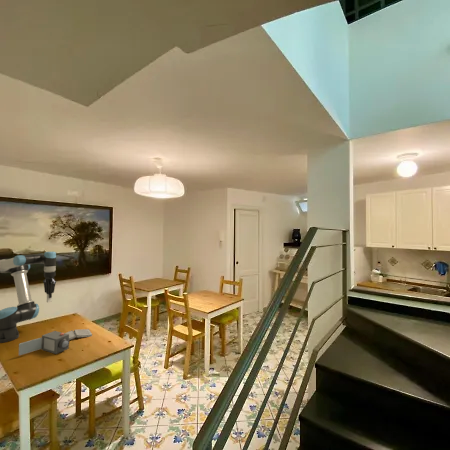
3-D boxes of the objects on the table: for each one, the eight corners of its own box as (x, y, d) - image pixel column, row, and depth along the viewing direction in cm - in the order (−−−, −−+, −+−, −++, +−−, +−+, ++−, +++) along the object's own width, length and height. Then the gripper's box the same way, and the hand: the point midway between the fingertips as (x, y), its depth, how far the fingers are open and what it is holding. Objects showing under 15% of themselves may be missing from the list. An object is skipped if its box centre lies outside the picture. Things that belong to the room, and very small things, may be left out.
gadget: (58, 344, 186) (58, 339, 186) (56, 338, 197) (56, 333, 197) (92, 336, 200) (92, 332, 200) (88, 330, 212) (88, 326, 212)
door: (42, 347, 176) (42, 336, 176) (42, 348, 175) (43, 337, 176) (18, 354, 166) (18, 343, 166) (19, 355, 165) (19, 344, 165)
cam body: (41, 349, 176) (41, 334, 176) (54, 344, 184) (55, 329, 185) (58, 355, 168) (58, 338, 169) (71, 349, 177) (71, 333, 177)
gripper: (39, 271, 192) (38, 302, 192) (49, 272, 187) (49, 304, 186) (49, 270, 199) (48, 299, 199) (60, 271, 194) (59, 301, 193)
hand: (49, 301), depth 193 cm, fingers closed
